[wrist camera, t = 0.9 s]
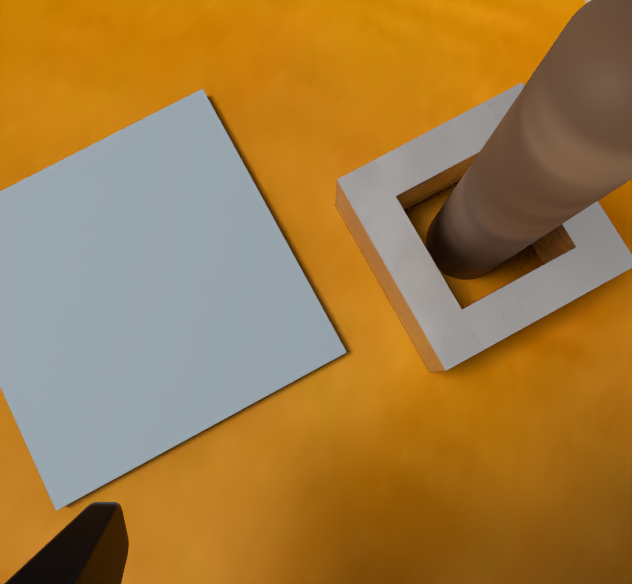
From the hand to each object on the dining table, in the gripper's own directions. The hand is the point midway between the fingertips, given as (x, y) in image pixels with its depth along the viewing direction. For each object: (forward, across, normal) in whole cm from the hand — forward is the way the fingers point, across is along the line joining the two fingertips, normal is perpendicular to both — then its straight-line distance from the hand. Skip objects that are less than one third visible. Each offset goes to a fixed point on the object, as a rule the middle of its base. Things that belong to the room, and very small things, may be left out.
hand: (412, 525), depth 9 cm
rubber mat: (+14, +9, +3) cm, 17 cm away
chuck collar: (+15, -4, +1) cm, 16 cm away
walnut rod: (+15, -4, +1) cm, 16 cm away
